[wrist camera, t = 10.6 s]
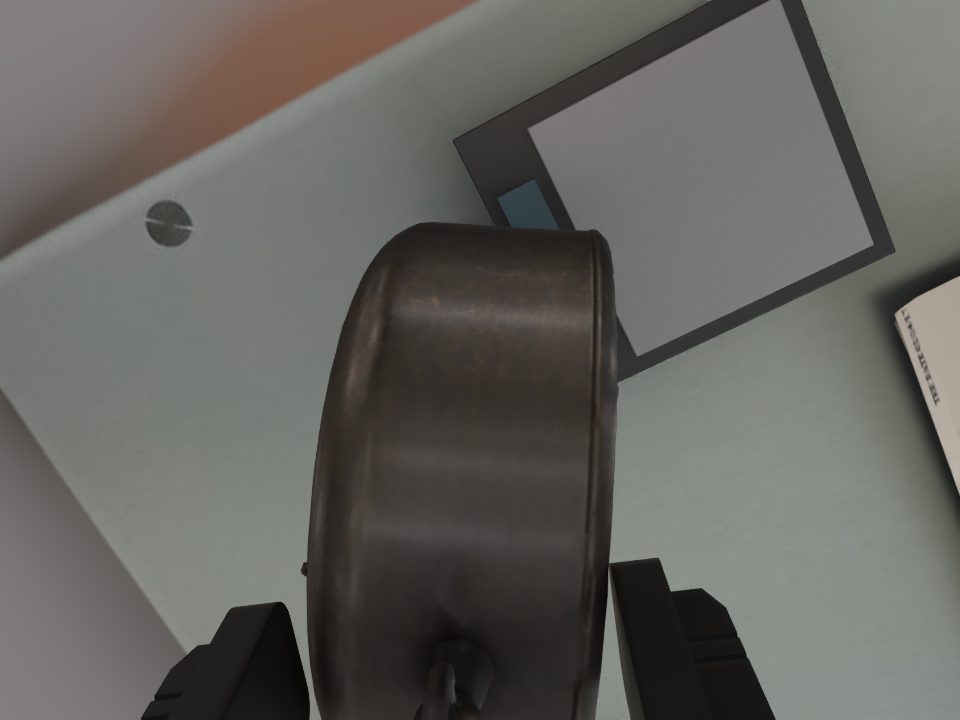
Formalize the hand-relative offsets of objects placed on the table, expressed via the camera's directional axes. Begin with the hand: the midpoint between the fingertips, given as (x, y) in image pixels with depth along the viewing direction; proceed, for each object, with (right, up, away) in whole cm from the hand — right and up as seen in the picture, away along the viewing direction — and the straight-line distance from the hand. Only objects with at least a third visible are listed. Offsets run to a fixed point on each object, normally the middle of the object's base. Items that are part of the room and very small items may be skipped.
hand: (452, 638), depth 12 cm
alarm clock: (0, +3, +11) cm, 12 cm away
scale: (+9, +12, +25) cm, 29 cm away
